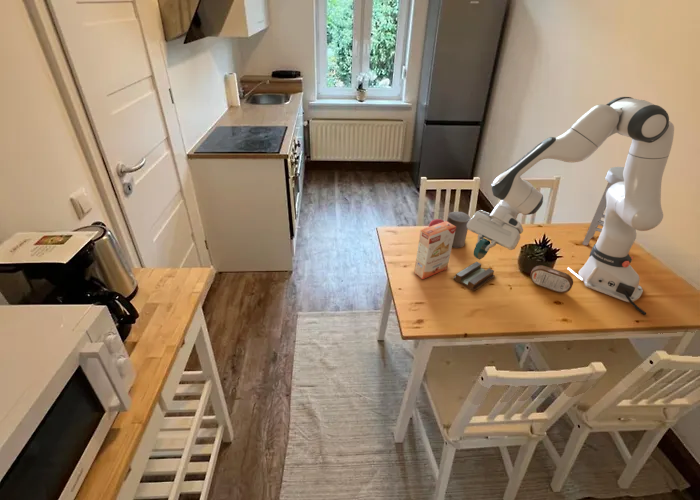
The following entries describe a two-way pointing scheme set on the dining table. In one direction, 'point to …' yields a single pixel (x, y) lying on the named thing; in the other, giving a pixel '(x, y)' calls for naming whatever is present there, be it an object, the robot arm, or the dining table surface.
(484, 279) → the stand
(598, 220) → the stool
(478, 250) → the disc
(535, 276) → the tin
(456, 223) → the pillar candle
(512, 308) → the dining table surface
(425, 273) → the cracker box
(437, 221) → the lollipop
